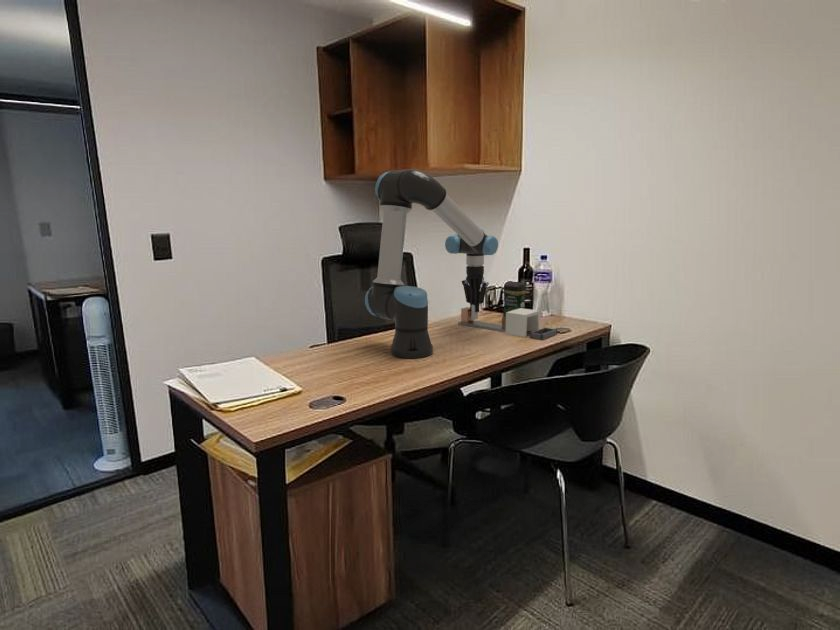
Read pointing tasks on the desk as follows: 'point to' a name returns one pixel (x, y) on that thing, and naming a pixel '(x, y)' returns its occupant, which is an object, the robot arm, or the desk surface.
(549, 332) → the tray
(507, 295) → the coffee jar
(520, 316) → the tunnel
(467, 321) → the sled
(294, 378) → the desk surface
